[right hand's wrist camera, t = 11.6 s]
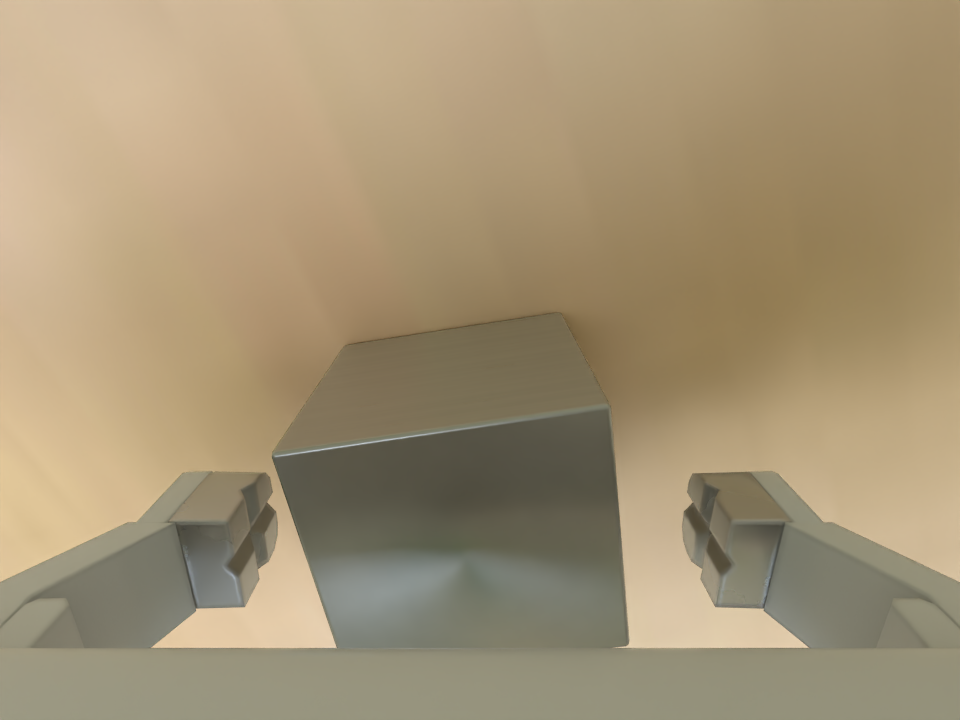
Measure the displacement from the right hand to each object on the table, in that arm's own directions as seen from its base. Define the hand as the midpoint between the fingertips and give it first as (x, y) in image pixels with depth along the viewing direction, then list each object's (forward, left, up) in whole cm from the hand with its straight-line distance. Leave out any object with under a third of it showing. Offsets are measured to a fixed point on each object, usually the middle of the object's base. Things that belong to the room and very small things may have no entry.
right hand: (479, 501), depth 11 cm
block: (0, 0, -3) cm, 3 cm away
